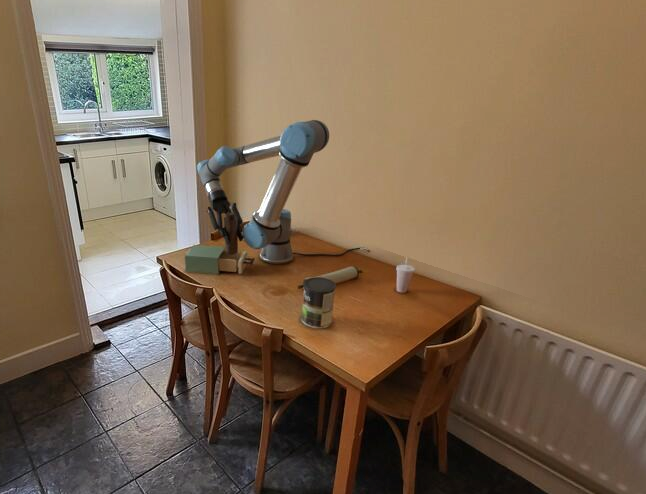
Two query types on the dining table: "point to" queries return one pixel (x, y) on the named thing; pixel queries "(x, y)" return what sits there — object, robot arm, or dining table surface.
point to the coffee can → (318, 302)
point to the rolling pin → (339, 275)
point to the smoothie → (404, 276)
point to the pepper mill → (231, 233)
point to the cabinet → (203, 259)
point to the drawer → (234, 262)
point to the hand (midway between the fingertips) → (235, 241)
